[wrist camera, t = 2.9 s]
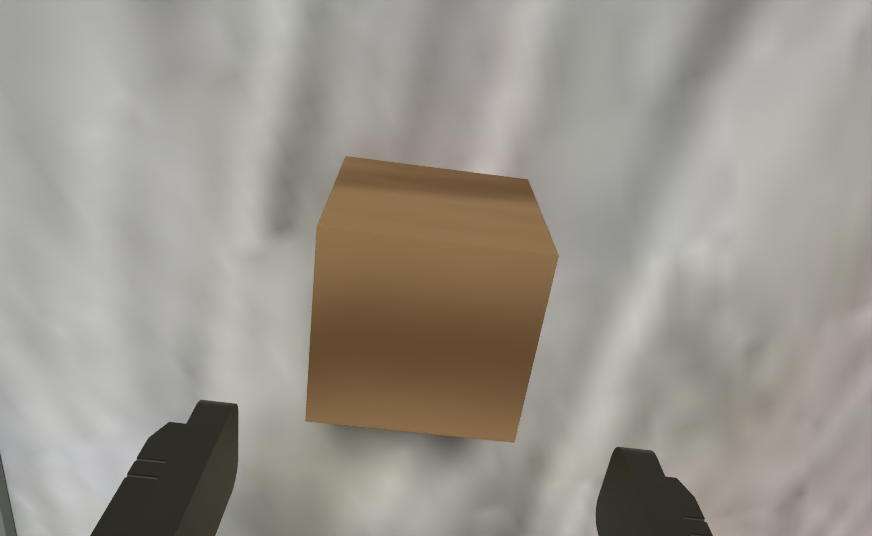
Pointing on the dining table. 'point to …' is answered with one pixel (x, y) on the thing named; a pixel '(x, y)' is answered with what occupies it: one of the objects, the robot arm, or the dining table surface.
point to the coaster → (5, 509)
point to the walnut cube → (427, 300)
